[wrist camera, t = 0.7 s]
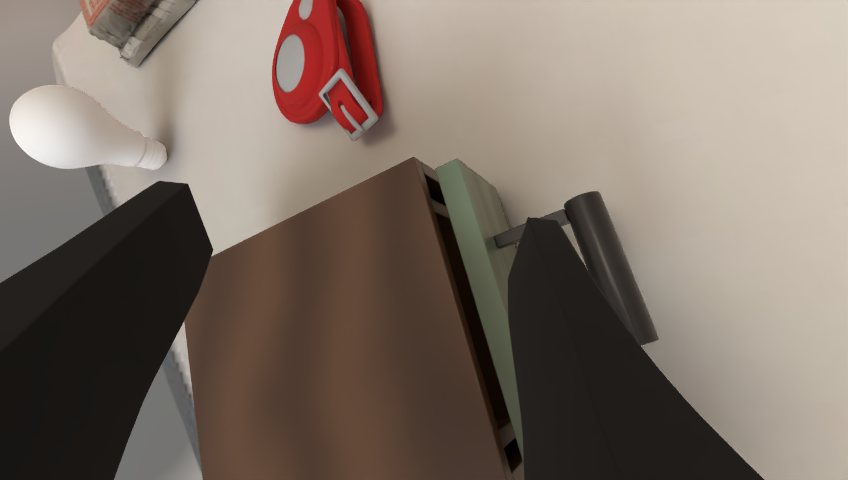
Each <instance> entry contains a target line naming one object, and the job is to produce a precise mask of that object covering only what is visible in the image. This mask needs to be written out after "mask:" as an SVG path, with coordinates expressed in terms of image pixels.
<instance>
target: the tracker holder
mask: <svg viewBox="0 0 848 480" xmlns="http://www.w3.org/2000/svg"><path fill="white" fill-rule="evenodd" d="M337 6H338V7H339V9H340V10H341V12H342V14H343V15H344V19H345V22H346V26H347V32H348V37H349V43H350V48H351V54H352V59H353V65H354V70H355V76H356V81H357V87H358V89H357V87H356V86H355V84H354V78H353V74H352V70H351V66H350V61H349V57H348V54H347V50H346V46H345V42H344V38H343V34H342V30H341V26H340V22H339V18H338V14H337ZM272 83H273V90H274V96H275V99H276V103H277V105H278V107H279V109H280V111H281V113H282V114H283V115H284V116H285V117H286V118H287V119H288V120H289V121H291V122H294V123H300V124H301V123H304V124H309V123H312V122H315V121H316V120H318V119H319V118H320V117H322V116H323V115H324V114H325V112H326V111H327V110H328V109H329V110H330V111H331V113H332V114H333V116H334V117H335V119H336V120H337V121H338V123H339V124H340V125H341V126H342V127H343V129H344V130H345V131H346V133H347V134H348V135H349V137H350V138H351V140H352V141H356V140H357V139H358V138H359V137H360V136H362V135H363V134H364V133H365V132H366V131H367V130H368V129H369V128H370V127H372V126H373V125H374V124H375V123H376V122H377V121H378V118H379V117H380V116H381V114H382V110H383V102H382V95H381V88H380V83H379V78H378V72H377V66H376V60H375V54H374V49H373V43H372V37H371V31H370V25H369V20H368V16H367V13H366V11H365V9H364V7H363V5H362V3H361V2H360V1H359V0H294V1H293V2H292V4H291V6H290V9H289V11H288V14H287V16H286V19H285V22H284V24H283V27H282V30H281V33H280V36H279V39H278V43H277V46H276V50H275V54H274V59H273V66H272Z"/></svg>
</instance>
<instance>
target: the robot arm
mask: <svg viewBox="0 0 848 480" xmlns="http://www.w3.org/2000/svg"><path fill="white" fill-rule="evenodd" d="M212 252H213V248H212V245H211V243H210V240H209V238H208V235H207V232H206V230H205V227H204V225H203V222H202V219H201V217H200V214H199V212H198V209H197V206H196V204H195V201H194V199H193V196H192V193H191V191H190V188H189V186H188V184H184V183H174V182H164V181H158V182H156V183H155V184H153V185H151V186H150V187H148V188H147V189H145V190H143V191H142V192H140V193H139V194H137V195H136V196H134V197H133V198H131V199H130V200H128V201H127V202H125V203H124V204H122V205H121V206H119V207H118V208H116V209H115V210H113V211H112V212H110V213H109V214H108V215H106V216H105V217H103V218H102V219H100V220H99V221H97V222H96V223H94V224H93V225H91V226H90V227H88V228H87V229H85V230H84V231H82V232H81V233H79V234H78V235H76V236H75V237H73V238H72V239H70V240H69V241H67V242H66V243H64V244H63V245H61V246H60V247H58V248H57V249H55V250H53V251H52V252H50V253H48V254H47V255H45V256H44V257H42V258H40V259H39V260H37V261H35V262H34V263H32V264H31V265H29V266H27V267H26V268H24V269H22V270H21V271H19V272H18V273H16V274H14V275H13V276H11V277H9V278H8V279H6V280H5V281H3V282H1V283H0V480H114V478H115V475H116V472H117V469H118V467H119V463H120V461H121V458H122V455H123V453H124V450H125V447H126V444H127V442H128V439H129V437H130V434H131V431H132V428H133V426H134V424H135V421H136V419H137V416H138V414H139V411H140V408H141V406H142V403H143V401H144V399H145V397H146V394H147V392H148V390H149V388H150V386H151V384H152V382H153V380H154V378H155V376H156V374H157V372H158V370H159V368H160V366H161V364H162V362H163V360H164V358H165V357H166V355H167V353H168V351H169V349H170V347H171V345H172V343H173V341H174V339H175V337H176V335H177V333H178V332H179V330H180V328H181V326H182V324H183V322H184V320H185V318H186V316H187V314H188V312H189V310H190V308H191V306H192V304H193V302H194V300H195V298H196V296H197V294H198V292H199V290H200V287H201V284H202V282H203V279H204V276H205V273H206V271H207V267H208V264H209V261H210V258H211V255H212ZM508 323H509V331H510V339H511V346H512V354H513V362H514V369H515V376H516V384H517V391H518V399H519V406H520V413H521V424H522V434H523V458H524V480H764V479H763V478H762V477H761V476H760V475H759V474H758V473H757V472H756V471H755V470H754V469H753V468H752V467H751V466H750V465H748V464H747V463H746V462H745V461H744V460H743V459H742V457H741V456H740V455H739V454H738V453H737V452H736V451H735V450H734V449H733V448H732V447H731V446H730V445H729V444H728V443H727V442H726V441H725V440H724V439H723V438H722V437H721V436H720V435H719V434H718V433H717V432H716V431H715V430H714V429H713V428H712V427H711V426H710V425H709V424H708V423H707V422H706V421H705V420H704V419H703V418H702V417H701V416H700V415H699V414H698V413H697V412H696V411H695V410H694V408H693V407H692V406H691V405H690V404H689V403H688V402H687V401H686V400H685V399H684V398H683V396H682V395H681V394H680V393H679V392H678V391H677V389H676V388H675V387H674V386H673V385H672V384H671V383H670V381H669V380H668V379H667V378H666V377H665V376H664V374H663V373H662V372H661V371H660V370H659V368H658V367H657V366H656V365H655V364H654V362H653V361H652V360H651V359H650V357H649V356H648V355H647V354H646V352H645V351H644V350H643V348H642V347H641V346H640V344H639V343H638V342H637V341H636V339H635V338H634V337H633V335H632V334H631V333H630V331H629V330H628V329H627V327H626V326H625V325H624V323H623V322H622V320H621V319H620V318H619V316H618V315H617V313H616V312H615V311H614V309H613V308H612V306H611V305H610V303H609V302H608V300H607V299H606V297H605V296H604V294H603V293H602V291H601V290H600V288H599V287H598V285H597V284H596V282H595V281H594V279H593V278H592V276H591V275H590V273H589V272H588V270H587V268H586V267H585V265H584V263H583V262H582V260H581V259H580V257H579V255H578V254H577V252H576V251H575V249H574V247H573V246H572V244H571V242H570V241H569V239H568V237H567V236H566V234H565V232H564V230H563V229H562V227H561V226H560V224H559V223H558V221H557V220H550V219H539V218H529V217H528V219H527V222H526V225H525V228H524V231H523V234H522V237H521V240H520V243H519V246H518V249H517V252H516V255H515V258H514V261H513V264H512V267H511V270H510V273H509V276H508Z"/></svg>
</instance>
